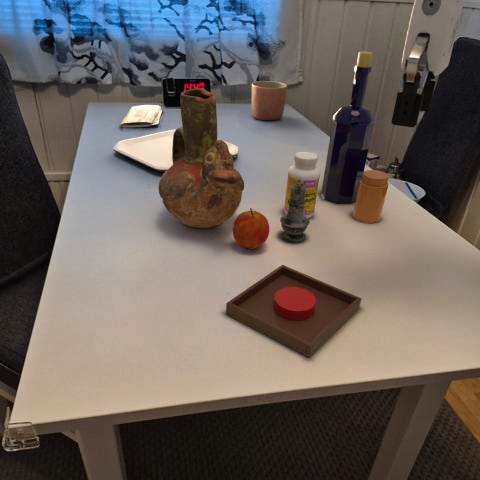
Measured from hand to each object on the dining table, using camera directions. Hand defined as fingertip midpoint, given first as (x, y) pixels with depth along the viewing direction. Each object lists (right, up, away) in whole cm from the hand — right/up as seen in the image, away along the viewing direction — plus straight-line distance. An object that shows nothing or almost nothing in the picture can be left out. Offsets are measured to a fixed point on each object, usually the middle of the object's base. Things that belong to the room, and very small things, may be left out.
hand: (410, 117), depth 63 cm
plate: (-42, +18, +64) cm, 79 cm away
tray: (-16, -27, +7) cm, 32 cm away
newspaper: (-58, +41, +92) cm, 116 cm away
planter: (-14, +45, +99) cm, 110 cm away
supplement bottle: (-11, -5, +36) cm, 38 cm away
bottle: (0, +1, +44) cm, 44 cm away
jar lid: (-16, -26, +6) cm, 31 cm away
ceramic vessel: (-32, -9, +30) cm, 45 cm away
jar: (+4, -6, +36) cm, 36 cm away
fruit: (-22, -15, +24) cm, 35 cm away
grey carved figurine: (-13, -12, +27) cm, 33 cm away
